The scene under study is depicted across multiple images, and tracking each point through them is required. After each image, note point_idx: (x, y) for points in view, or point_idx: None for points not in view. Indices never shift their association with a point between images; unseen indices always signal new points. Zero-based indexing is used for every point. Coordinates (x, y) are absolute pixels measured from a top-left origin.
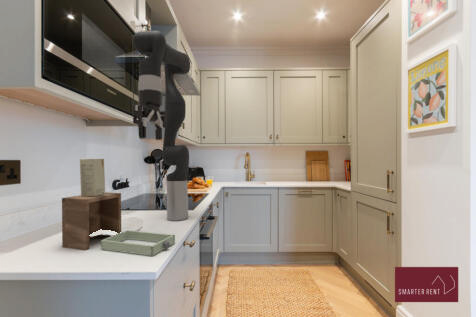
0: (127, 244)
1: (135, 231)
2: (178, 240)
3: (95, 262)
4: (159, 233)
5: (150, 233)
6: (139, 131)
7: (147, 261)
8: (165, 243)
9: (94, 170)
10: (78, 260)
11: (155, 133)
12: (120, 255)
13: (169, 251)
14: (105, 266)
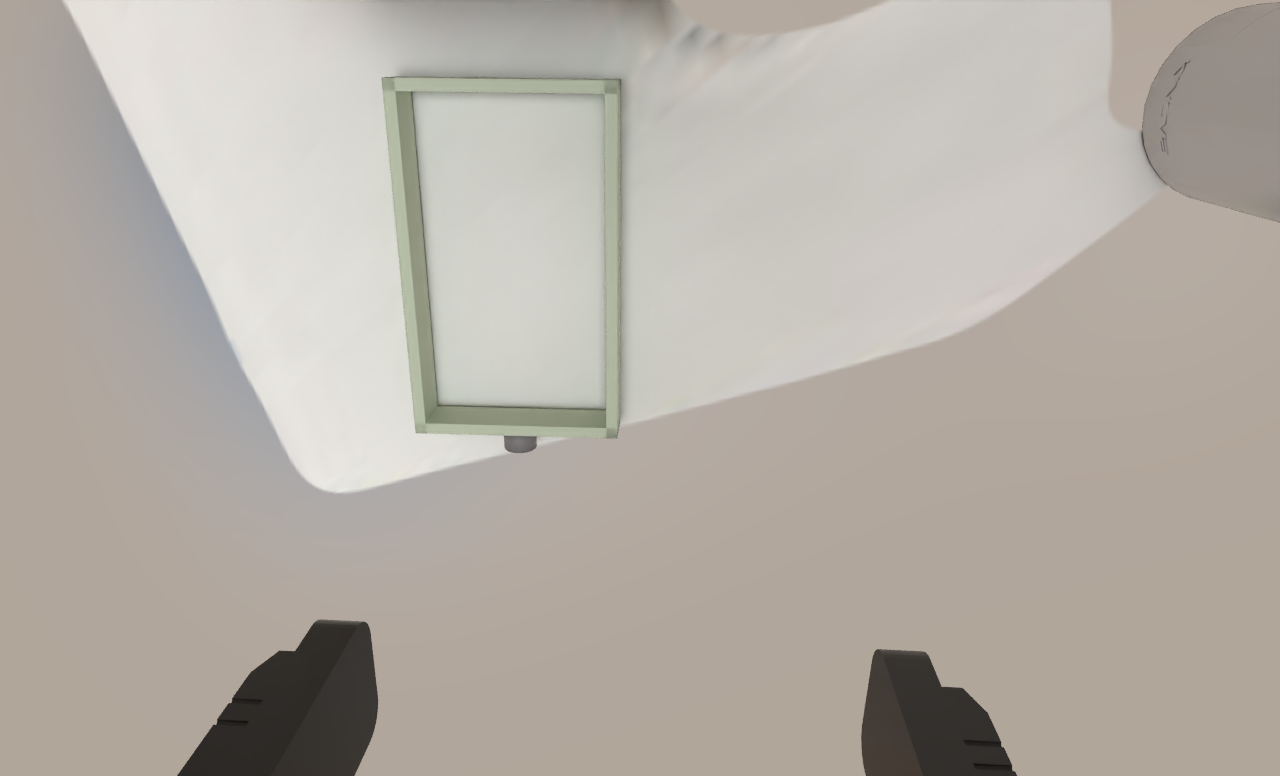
0: (403, 279)
1: (611, 158)
2: (678, 408)
3: (267, 201)
4: (617, 340)
5: (605, 282)
6: (220, 745)
7: (376, 422)
8: (506, 443)
9: None
10: (245, 91)
11: (916, 745)
12: (381, 253)
13: None
14: (258, 284)
